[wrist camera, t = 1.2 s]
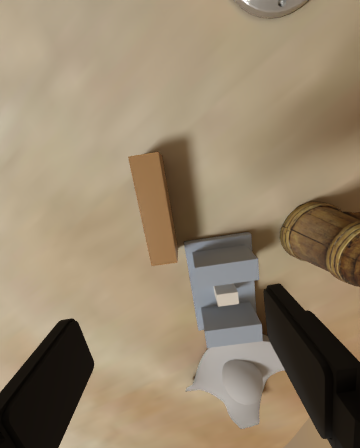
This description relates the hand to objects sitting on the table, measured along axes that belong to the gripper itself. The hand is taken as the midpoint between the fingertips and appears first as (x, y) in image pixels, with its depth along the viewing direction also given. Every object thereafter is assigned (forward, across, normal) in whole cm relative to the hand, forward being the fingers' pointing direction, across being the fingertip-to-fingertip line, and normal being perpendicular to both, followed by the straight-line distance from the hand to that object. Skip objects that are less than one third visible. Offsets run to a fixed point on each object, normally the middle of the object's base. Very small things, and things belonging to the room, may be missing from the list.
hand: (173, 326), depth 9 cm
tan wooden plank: (+20, +2, -3) cm, 21 cm away
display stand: (+20, -5, +11) cm, 23 cm away
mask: (+20, -6, +28) cm, 35 cm away
